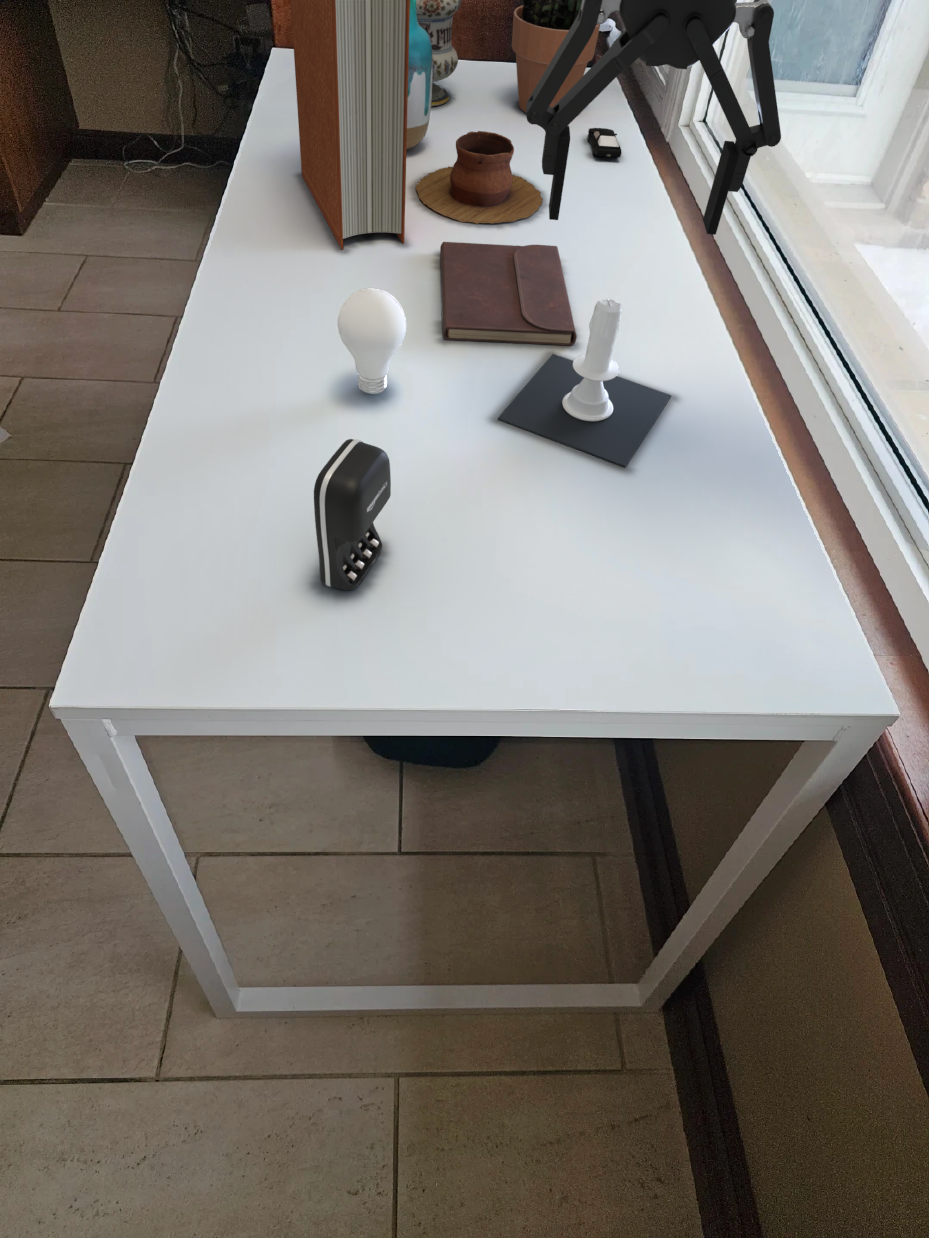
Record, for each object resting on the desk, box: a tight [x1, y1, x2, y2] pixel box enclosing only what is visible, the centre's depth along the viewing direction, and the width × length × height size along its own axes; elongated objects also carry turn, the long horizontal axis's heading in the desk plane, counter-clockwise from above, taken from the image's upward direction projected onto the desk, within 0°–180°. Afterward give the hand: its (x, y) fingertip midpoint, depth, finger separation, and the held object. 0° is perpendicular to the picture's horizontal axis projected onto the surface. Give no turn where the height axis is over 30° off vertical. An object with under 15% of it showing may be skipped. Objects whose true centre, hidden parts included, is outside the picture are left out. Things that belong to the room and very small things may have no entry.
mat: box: [497, 353, 672, 468], centre depth 91 cm, size 14×14×1 cm
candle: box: [562, 298, 623, 421], centre depth 86 cm, size 5×5×12 cm
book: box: [290, 0, 410, 251], centre depth 105 cm, size 23×8×30 cm, turn 20°
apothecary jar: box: [416, 0, 463, 108], centre depth 137 cm, size 12×12×18 cm
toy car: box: [587, 127, 622, 158], centre depth 134 cm, size 10×4×3 cm, turn 3°
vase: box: [406, 0, 433, 150], centre depth 123 cm, size 11×11×19 cm
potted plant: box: [511, 0, 601, 113], centre depth 135 cm, size 14×14×25 cm
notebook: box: [439, 241, 578, 347], centre depth 103 cm, size 15×20×2 cm
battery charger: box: [313, 438, 392, 591], centre depth 69 cm, size 7×4×11 cm, turn 158°
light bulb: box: [337, 287, 408, 395], centre depth 85 cm, size 7×7×11 cm
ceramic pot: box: [415, 130, 543, 225], centre depth 119 cm, size 18×18×7 cm
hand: (631, 220), depth 75 cm, fingers open, 13 cm apart
